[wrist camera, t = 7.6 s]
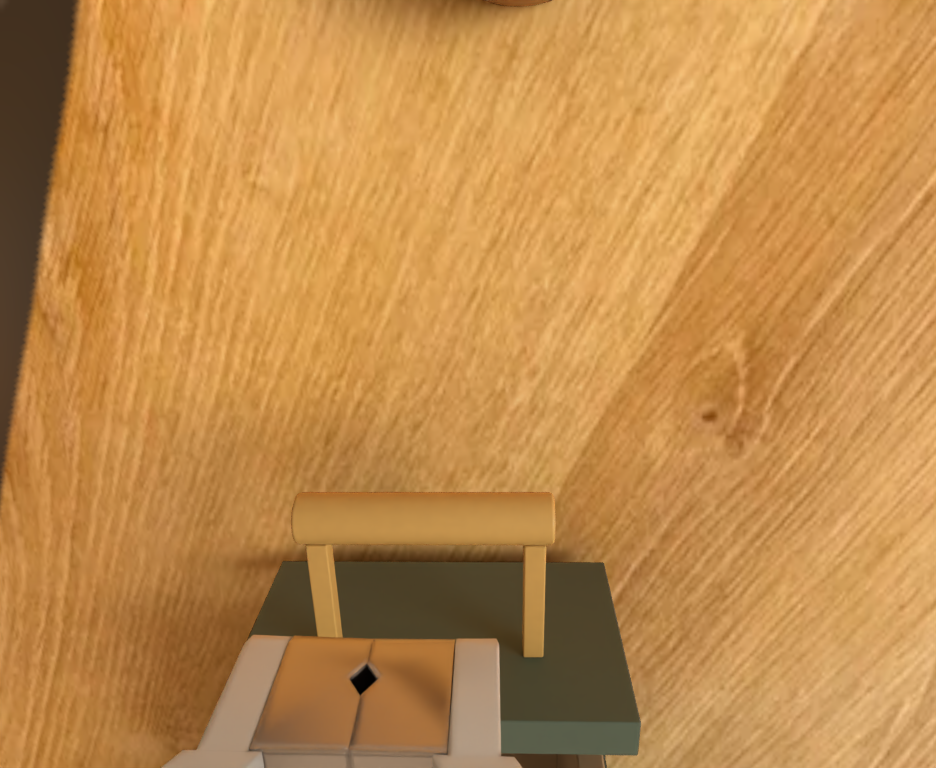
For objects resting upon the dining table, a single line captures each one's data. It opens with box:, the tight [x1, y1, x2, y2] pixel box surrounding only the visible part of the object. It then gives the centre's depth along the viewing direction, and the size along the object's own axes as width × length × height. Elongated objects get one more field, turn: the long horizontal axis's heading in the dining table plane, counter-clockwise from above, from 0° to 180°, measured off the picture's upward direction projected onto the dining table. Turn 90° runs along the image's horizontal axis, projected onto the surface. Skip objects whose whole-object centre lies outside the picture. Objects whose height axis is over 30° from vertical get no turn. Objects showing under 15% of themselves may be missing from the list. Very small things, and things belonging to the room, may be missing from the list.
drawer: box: [247, 492, 641, 768], centre depth 23 cm, size 19×11×7 cm, turn 1°
